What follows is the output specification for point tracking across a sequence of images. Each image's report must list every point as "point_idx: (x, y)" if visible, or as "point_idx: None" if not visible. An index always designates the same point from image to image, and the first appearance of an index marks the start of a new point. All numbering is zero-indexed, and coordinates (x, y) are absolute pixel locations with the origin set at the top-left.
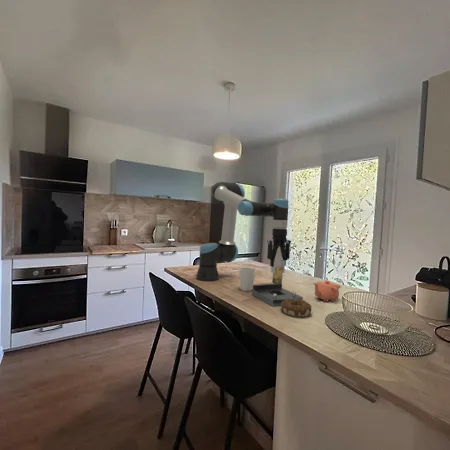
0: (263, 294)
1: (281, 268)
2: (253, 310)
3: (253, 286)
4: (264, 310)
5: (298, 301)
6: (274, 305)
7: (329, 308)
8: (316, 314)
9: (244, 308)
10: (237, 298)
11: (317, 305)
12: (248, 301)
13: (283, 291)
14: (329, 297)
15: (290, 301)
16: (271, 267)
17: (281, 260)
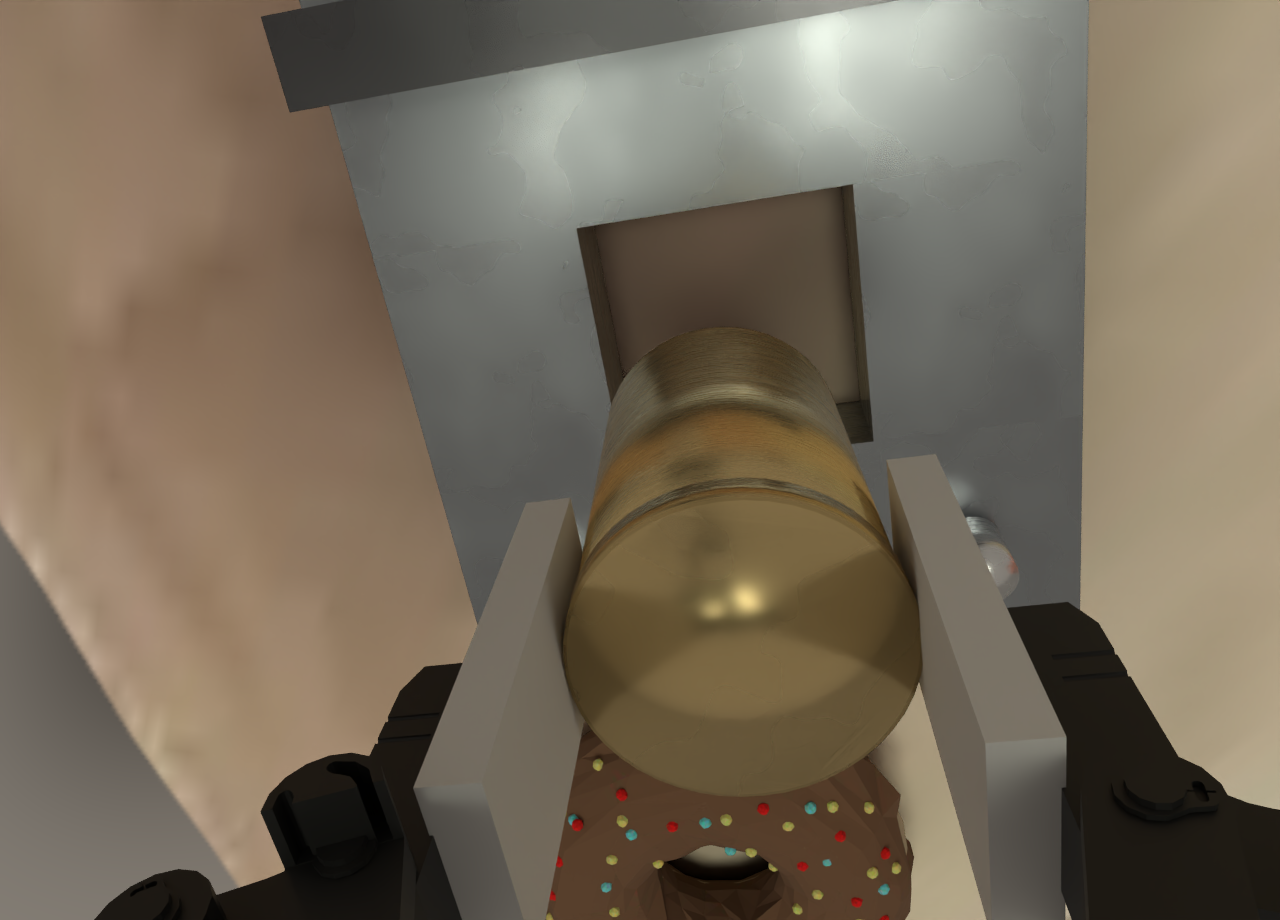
0: (436, 388)
1: (777, 791)
2: (216, 686)
3: (282, 52)
4: (353, 708)
5: (788, 870)
6: None
7: (1276, 791)
8: (928, 898)
9: (112, 614)
10: (36, 201)
11: (1207, 679)
12: (205, 372)
13: (941, 255)
14: None
15: (676, 844)
16: (497, 594)
17: (978, 771)
